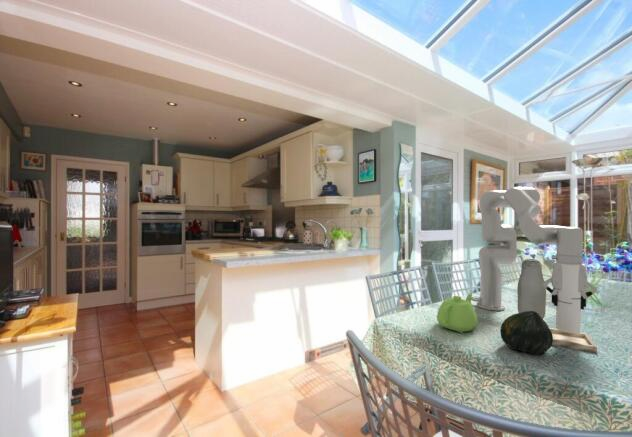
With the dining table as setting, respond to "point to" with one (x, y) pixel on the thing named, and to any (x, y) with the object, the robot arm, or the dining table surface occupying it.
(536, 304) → the grey tall rounded bottle
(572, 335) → the wooden tray
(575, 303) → the cylindrical container
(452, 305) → the teapot
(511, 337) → the squash
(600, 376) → the dining table surface
